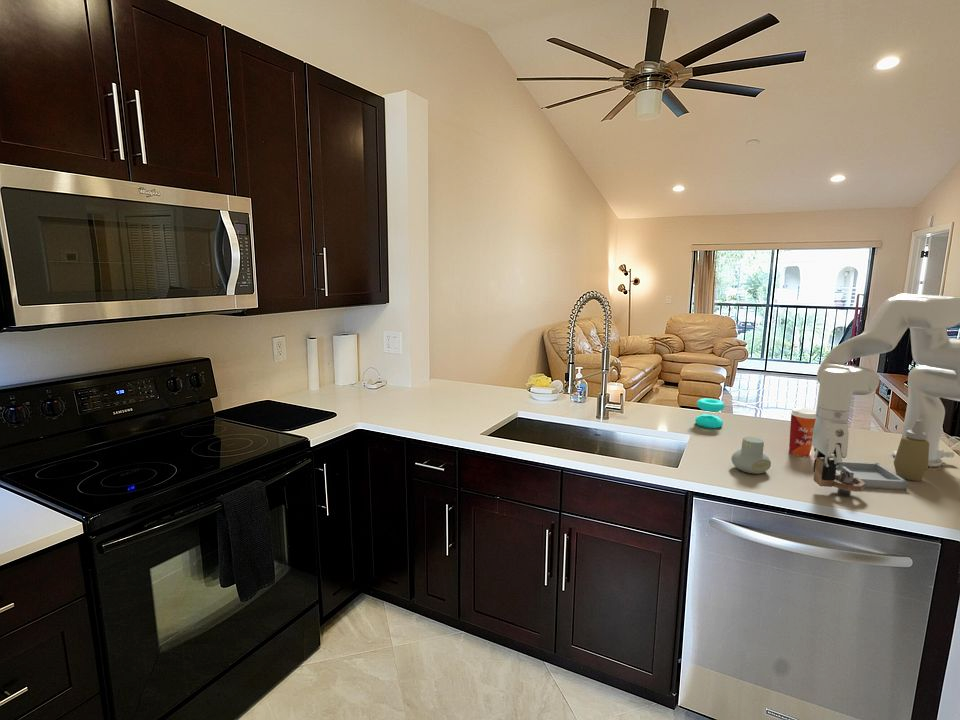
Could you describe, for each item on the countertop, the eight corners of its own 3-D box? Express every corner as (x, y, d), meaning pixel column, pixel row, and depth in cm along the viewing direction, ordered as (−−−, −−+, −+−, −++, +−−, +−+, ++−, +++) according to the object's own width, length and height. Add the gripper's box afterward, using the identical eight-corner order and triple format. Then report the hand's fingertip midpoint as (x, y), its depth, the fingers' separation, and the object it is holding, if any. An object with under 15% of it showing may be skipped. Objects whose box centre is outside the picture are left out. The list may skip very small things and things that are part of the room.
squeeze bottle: (910, 471, 161) (920, 416, 158) (933, 482, 153) (944, 424, 150) (884, 471, 161) (894, 416, 158) (906, 483, 153) (917, 424, 150)
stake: (845, 491, 147) (849, 466, 146) (853, 498, 143) (857, 473, 142) (833, 490, 148) (837, 466, 146) (842, 497, 143) (845, 472, 142)
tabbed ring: (853, 479, 148) (857, 456, 147) (870, 492, 140) (874, 467, 139) (809, 477, 150) (812, 454, 149) (824, 489, 142) (827, 465, 141)
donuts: (701, 396, 210) (727, 400, 204) (698, 419, 212) (725, 424, 206) (694, 401, 203) (721, 405, 197) (692, 425, 204) (719, 430, 199)
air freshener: (745, 477, 156) (749, 446, 154) (725, 466, 164) (728, 436, 162) (774, 473, 159) (778, 442, 157) (753, 463, 167) (757, 433, 165)
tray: (877, 470, 162) (878, 463, 162) (906, 490, 148) (907, 481, 148) (818, 467, 164) (819, 459, 164) (841, 485, 151) (843, 477, 150)
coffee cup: (799, 458, 171) (805, 415, 168) (779, 450, 179) (784, 408, 176) (819, 456, 173) (826, 413, 170) (799, 447, 181) (804, 406, 178)
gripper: (864, 424, 133) (854, 490, 137) (831, 405, 149) (823, 465, 153) (833, 422, 134) (823, 488, 138) (803, 404, 150) (795, 464, 154)
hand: (823, 475), depth 145 cm, fingers closed on tabbed ring, 3 cm apart
